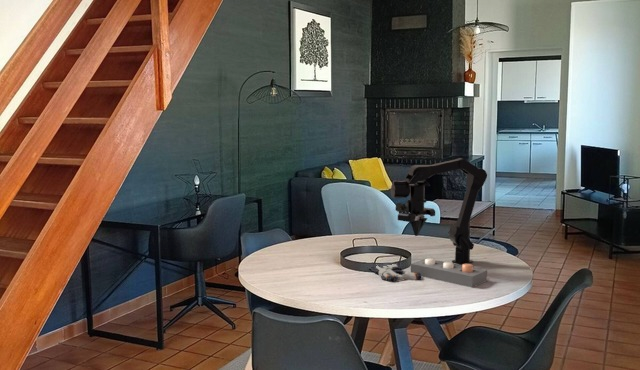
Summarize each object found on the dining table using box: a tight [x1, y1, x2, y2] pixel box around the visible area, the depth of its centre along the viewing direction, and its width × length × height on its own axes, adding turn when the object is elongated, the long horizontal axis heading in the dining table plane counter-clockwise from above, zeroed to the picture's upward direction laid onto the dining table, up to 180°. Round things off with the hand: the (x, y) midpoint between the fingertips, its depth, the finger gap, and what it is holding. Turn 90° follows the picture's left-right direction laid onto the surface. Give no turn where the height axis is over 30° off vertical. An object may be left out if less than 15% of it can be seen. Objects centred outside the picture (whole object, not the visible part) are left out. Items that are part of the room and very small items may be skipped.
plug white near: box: [424, 257, 436, 265], centre depth 236 cm, size 4×4×5 cm
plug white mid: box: [443, 261, 455, 269], centre depth 231 cm, size 4×4×5 cm
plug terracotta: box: [461, 263, 474, 273], centre depth 226 cm, size 4×4×5 cm
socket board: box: [410, 257, 488, 288], centre depth 231 cm, size 11×26×4 cm, turn 47°
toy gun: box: [370, 261, 422, 283], centre depth 236 cm, size 3×20×15 cm
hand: (416, 235), depth 248 cm, fingers closed
